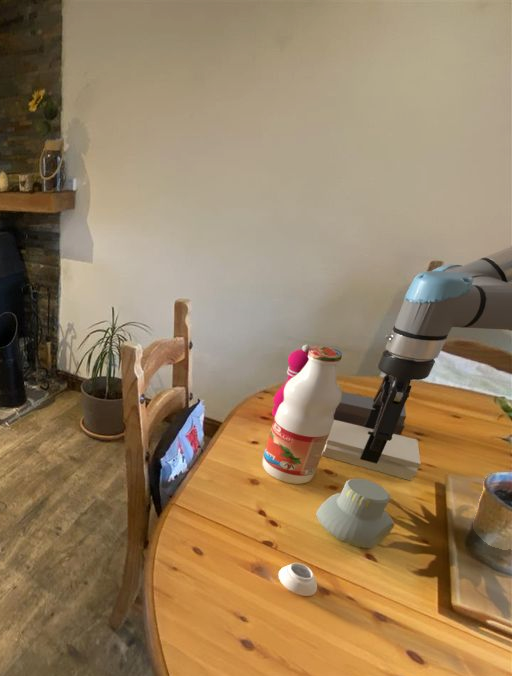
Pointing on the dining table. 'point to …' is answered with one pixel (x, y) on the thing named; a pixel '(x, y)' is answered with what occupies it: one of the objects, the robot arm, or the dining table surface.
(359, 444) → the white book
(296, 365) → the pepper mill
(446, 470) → the dining table surface
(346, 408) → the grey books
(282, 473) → the fruit juice
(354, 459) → the light grey flat block
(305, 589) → the small white bowl
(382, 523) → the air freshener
